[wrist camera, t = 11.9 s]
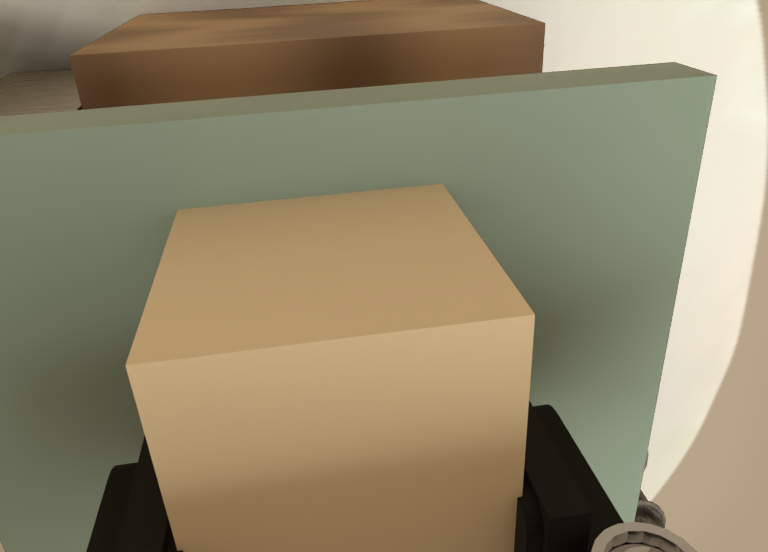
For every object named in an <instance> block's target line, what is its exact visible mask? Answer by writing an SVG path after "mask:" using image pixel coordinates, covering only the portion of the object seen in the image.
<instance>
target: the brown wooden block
mask: <svg viewBox="0 0 768 552" xmlns="http://www.w3.org/2000/svg"><path fill="white" fill-rule="evenodd" d="M544 35H545V23H543V22H540V21H537V20H535V19H532V18H529V17H526V16H523V15H520V14H517V13H514V12H511V11H509V10H506V9H503V8H500V7H497V6H494V5H491V4H488V3H485V2H483V1H480V0H368V1H353V2H337V3H321V4H305V5H289V6H273V7H257V8H242V9H226V10H210V11H194V12H178V13H162V14H146V15H139V16H137V17H135V18H133V19H132V20H130V21H128V22H126V23H125V24H123V25H121V26H119V27H118V28H116V29H114V30H112V31H111V32H109V33H107V34H106V35H104V36H102V37H100V38H99V39H97V40H95V41H93V42H92V43H90V44H88V45H86V46H85V47H83V48H81V49H79V50H78V51H76V52H74V53H72V54H71V55H69V60H70V64H71V68H72V72H73V75H74V79H75V83H76V87H77V91H78V95H79V98H80V102H81V106H82V110H86V109H99V108H111V107H124V106H136V105H148V104H161V103H173V102H186V101H198V100H211V99H223V98H235V97H248V96H260V95H273V94H285V93H297V92H310V91H322V90H335V89H347V88H360V87H372V86H384V85H397V84H409V83H422V82H434V81H447V80H459V79H471V78H484V77H496V76H509V75H521V74H534V73H542V65H543V50H544Z"/></svg>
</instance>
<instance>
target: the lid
mask: <svg viewBox="0 0 768 552" xmlns="http://www.w3.org/2000/svg"><path fill="white" fill-rule="evenodd" d="M716 78H717V75H714V74H711V73H708V72H705V71H701V70H698V69H695V68H692V67H688V66H685V65H682V64H679V63H675V62H670V63H658V64H645V65H633V66H621V67H608V68H596V69H583V70H571V71H558V72H546V73H534V74H521V75H509V76H496V77H484V78H471V79H459V80H447V81H434V82H422V83H409V84H397V85H384V86H372V87H360V88H347V89H335V90H322V91H310V92H297V93H285V94H273V95H260V96H248V97H235V98H223V99H211V100H198V101H186V102H173V103H161V104H148V105H136V106H124V107H111V108H99V109H86V110H74V111H61V112H49V113H37V114H24V115H12V116H0V541H1V543H2V545H3V548H4V550H5V552H86V551H87V547H88V544H89V541H90V537H91V534H92V530H93V527H94V524H95V520H96V517H97V514H98V510H99V507H100V504H101V500H102V497H103V493H104V490H105V487H106V483H107V480H108V477H109V474H110V472H111V470H112V468H113V467H114V466H115V465H122V464H129V463H136V462H138V460H139V456H140V452H141V448H142V444H143V440H144V436H145V437H146V441H147V444H148V448H149V452H150V455H151V459H152V462H153V466H154V469H155V473H156V476H157V480H158V484H159V487H160V491H161V494H162V498H163V501H164V505H165V508H166V512H167V516H168V519H169V523H170V526H171V530H172V533H173V537H174V540H175V544H176V548H177V551H180V550H183V552H514V542H515V527H516V512H517V497H522V492H523V478H524V464H525V450H526V436H527V422H528V408H529V401H530V402H531V404H532V406H539V405H546V404H549V405H551V406H552V407H553V408H554V409H555V410H556V412H557V413H558V415H559V416H560V418H561V420H562V421H563V423H564V425H565V426H566V428H567V430H568V431H569V433H570V435H571V436H572V438H573V439H574V441H575V443H576V444H577V446H578V448H579V449H580V451H581V453H582V454H583V456H584V458H585V459H586V461H587V463H588V464H589V466H590V467H591V469H592V471H593V472H594V474H595V476H596V477H597V479H598V481H599V482H600V484H601V486H602V487H603V489H604V491H605V492H606V494H607V495H608V497H609V499H610V500H611V502H612V504H613V505H614V507H615V509H616V510H617V512H618V514H619V515H620V517H621V519H622V520H623V522H624V523H627V522H634V521H635V515H636V510H637V505H638V499H639V494H640V488H641V483H642V478H643V472H644V467H645V461H646V456H647V451H648V445H649V440H650V434H651V429H652V424H653V418H654V413H655V407H656V402H657V397H658V391H659V386H660V380H661V375H662V370H663V364H664V359H665V354H666V348H667V343H668V337H669V332H670V327H671V321H672V316H673V310H674V305H675V300H676V294H677V289H678V283H679V278H680V273H681V267H682V262H683V256H684V251H685V246H686V240H687V235H688V229H689V224H690V219H691V213H692V208H693V202H694V197H695V192H696V186H697V181H698V176H699V170H700V165H701V159H702V154H703V149H704V143H705V138H706V132H707V127H708V122H709V116H710V111H711V105H712V100H713V95H714V89H715V84H716Z"/></svg>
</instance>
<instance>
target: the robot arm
mask: <svg viewBox="0 0 768 552" xmlns="http://www.w3.org/2000/svg"><path fill="white" fill-rule="evenodd" d="M86 552H183V550H180V551H177V548H176V544H175V540H174V537H173V533H172V530H171V526H170V523H169V519H168V516H167V512H166V508H165V505H164V501H163V498H162V494H161V491H160V487H159V484H158V480H157V476H156V473H155V469H154V466H153V462H152V459H151V455H150V452H149V448H148V444H147V441H146V437H145V436H144V440H143V444H142V448H141V452H140V456H139V460H138V462H136V463H129V464H122V465H115V466H114V467H113V468H112V470H111V472H110V474H109V477H108V480H107V483H106V487H105V490H104V493H103V497H102V500H101V504H100V507H99V510H98V514H97V517H96V520H95V524H94V527H93V530H92V534H91V537H90V541H89V544H88V547H87V551H86ZM514 552H697V551H696V550H695V549H694V548H693V547H692V546H690V545H689V544H688V543H687V542H686V541H685V540H684V539H683V538H681V537H679V536H677V535H676V534H674V533H672V532H670V531H669V530H667V529H664V528H661V527H658V526H655V525H652V524H648V523H640V522H627V523H624V522H623V520H622V519H621V517H620V515H619V514H618V512H617V510H616V509H615V507H614V505H613V504H612V502H611V500H610V499H609V497H608V495H607V494H606V492H605V491H604V489H603V487H602V486H601V484H600V482H599V481H598V479H597V477H596V476H595V474H594V472H593V471H592V469H591V467H590V466H589V464H588V463H587V461H586V459H585V458H584V456H583V454H582V453H581V451H580V449H579V448H578V446H577V444H576V443H575V441H574V439H573V438H572V436H571V435H570V433H569V431H568V430H567V428H566V426H565V425H564V423H563V421H562V420H561V418H560V416H559V415H558V413H557V412H556V410H555V409H554V408H553V407H552V406H551V405H549V404H546V405H539V406H532V404H531V402H530V401H529V408H528V422H527V436H526V450H525V464H524V478H523V492H522V497H517V512H516V527H515V542H514Z"/></svg>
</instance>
